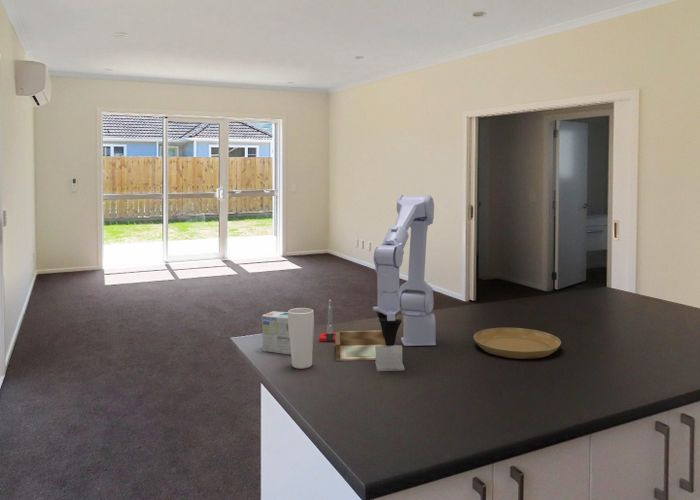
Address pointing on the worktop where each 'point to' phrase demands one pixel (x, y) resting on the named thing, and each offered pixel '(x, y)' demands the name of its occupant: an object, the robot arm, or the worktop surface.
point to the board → (357, 352)
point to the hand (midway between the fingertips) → (388, 341)
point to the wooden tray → (358, 339)
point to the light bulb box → (276, 332)
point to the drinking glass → (301, 336)
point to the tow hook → (328, 328)
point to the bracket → (389, 358)
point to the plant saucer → (517, 342)
